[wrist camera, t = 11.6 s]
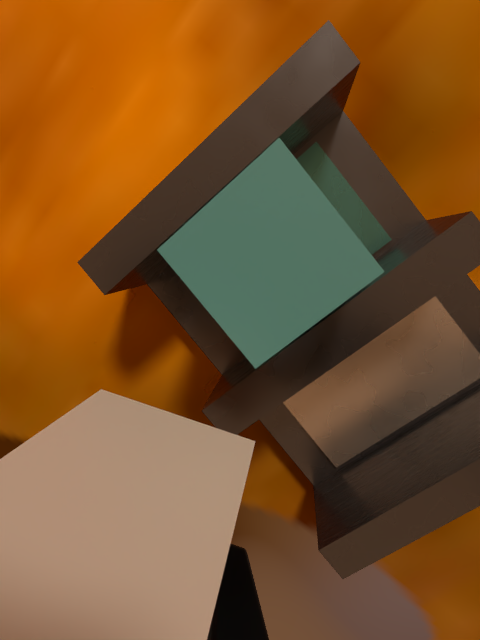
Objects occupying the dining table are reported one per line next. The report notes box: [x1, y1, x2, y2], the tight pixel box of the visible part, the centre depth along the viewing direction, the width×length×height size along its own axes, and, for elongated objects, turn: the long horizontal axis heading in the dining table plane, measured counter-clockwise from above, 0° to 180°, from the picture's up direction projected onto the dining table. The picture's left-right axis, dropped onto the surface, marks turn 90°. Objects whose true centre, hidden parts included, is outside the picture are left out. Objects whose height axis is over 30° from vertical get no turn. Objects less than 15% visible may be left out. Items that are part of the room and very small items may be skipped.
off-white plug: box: [0, 389, 255, 640], centre depth 6 cm, size 4×4×7 cm
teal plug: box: [157, 138, 384, 369], centre depth 13 cm, size 4×4×7 cm
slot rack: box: [78, 21, 480, 579], centre depth 15 cm, size 18×11×5 cm, turn 39°
